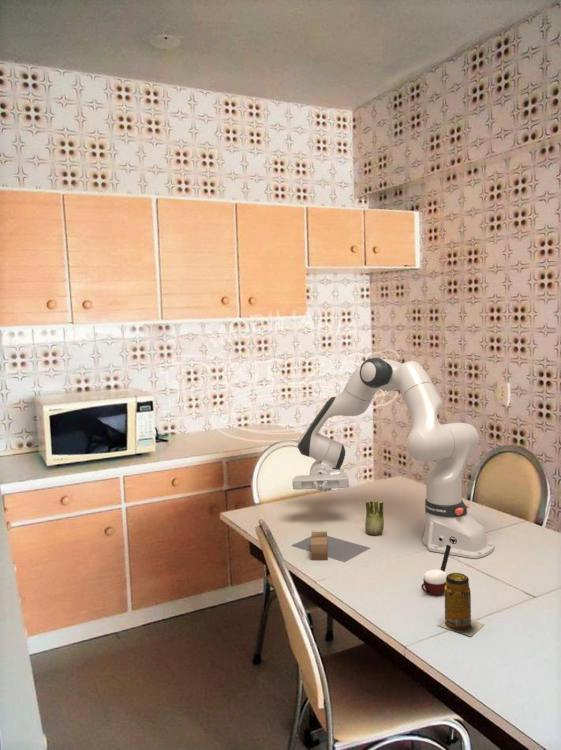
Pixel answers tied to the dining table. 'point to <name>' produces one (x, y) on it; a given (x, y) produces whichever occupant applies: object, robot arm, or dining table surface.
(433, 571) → the cocoa
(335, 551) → the felt mat
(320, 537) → the walnut block
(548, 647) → the dining table surface
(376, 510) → the fennel bulb
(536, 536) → the dining table surface
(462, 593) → the condiment
